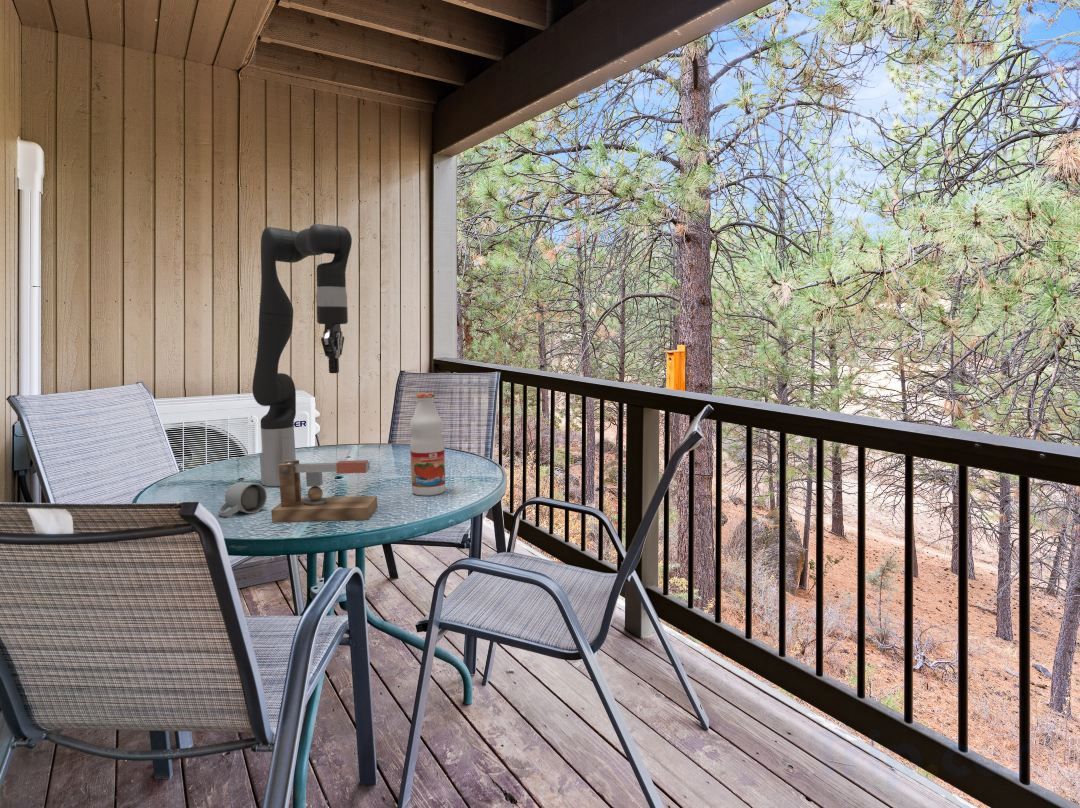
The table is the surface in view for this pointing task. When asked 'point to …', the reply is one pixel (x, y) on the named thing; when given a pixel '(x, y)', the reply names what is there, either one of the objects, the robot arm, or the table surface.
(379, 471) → the table surface
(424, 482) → the fruit juice
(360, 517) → the base
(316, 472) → the lever
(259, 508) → the ceramic mug
